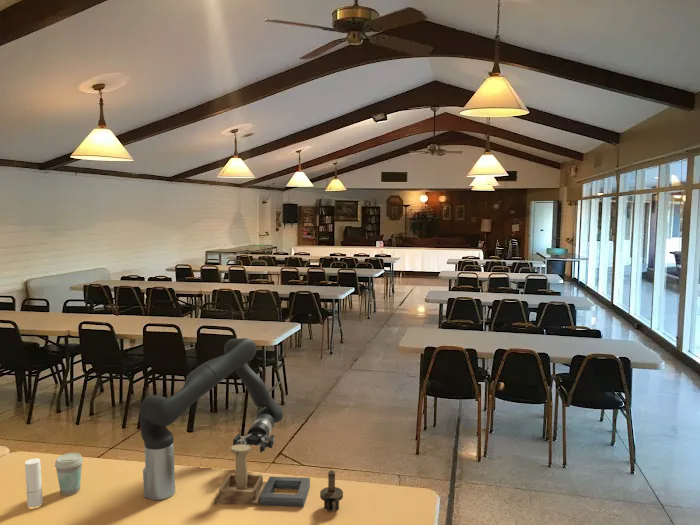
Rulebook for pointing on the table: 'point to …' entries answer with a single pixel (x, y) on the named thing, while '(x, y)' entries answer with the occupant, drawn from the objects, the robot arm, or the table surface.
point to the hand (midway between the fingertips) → (248, 449)
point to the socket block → (285, 499)
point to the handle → (241, 465)
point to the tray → (241, 491)
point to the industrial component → (331, 494)
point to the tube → (33, 482)
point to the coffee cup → (69, 472)
